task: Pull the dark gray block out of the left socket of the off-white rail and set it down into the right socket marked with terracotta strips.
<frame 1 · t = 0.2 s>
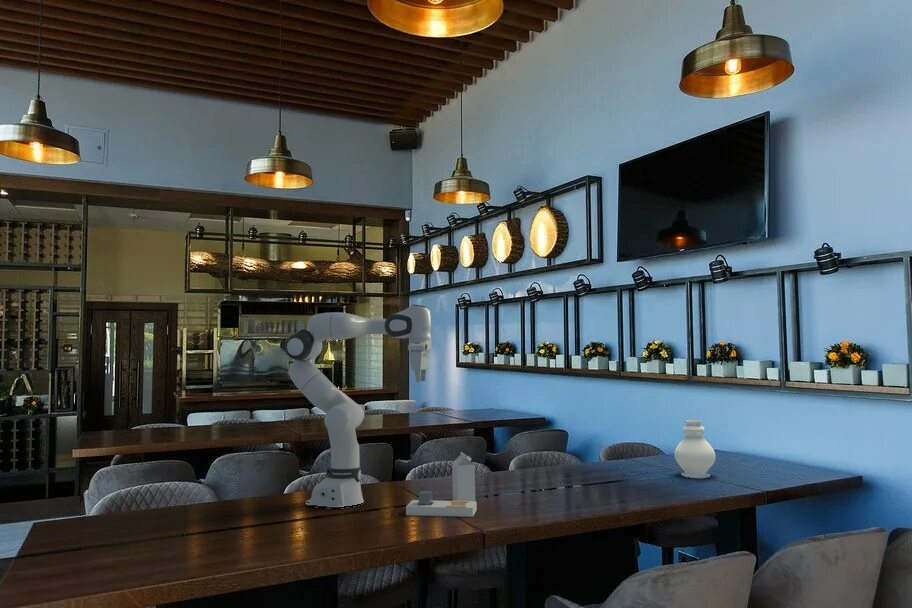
hand: (420, 381, 256), 47 cm above the table, tool pointing down, fingers open, 8 cm apart
dark gray block: (425, 511, 239), point 1 cm above the table, touching socket rail
decorative vase: (695, 476, 303), on the table
socket rail: (441, 515, 238), on the table
milk carton: (463, 503, 257), on the table
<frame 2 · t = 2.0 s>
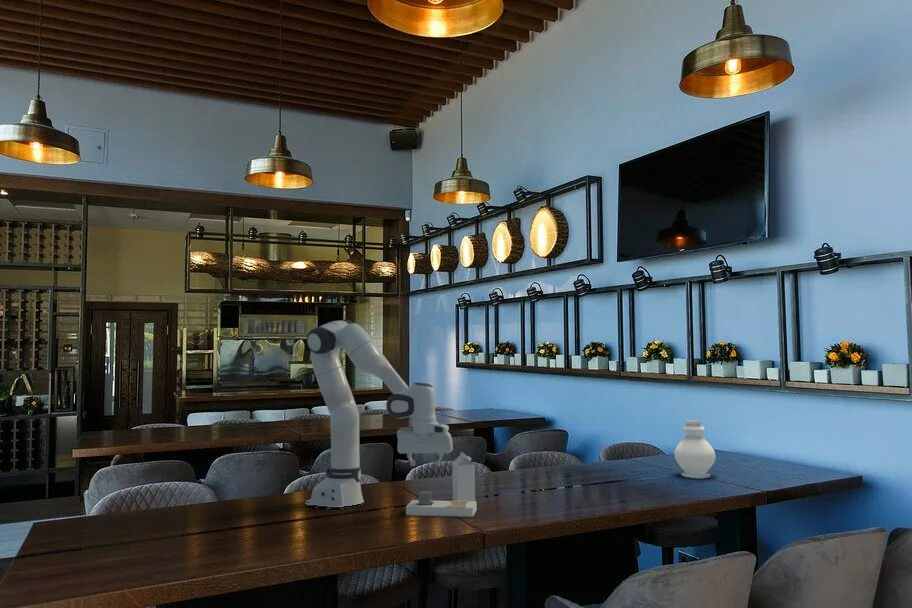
hand: (425, 465, 240), 18 cm above the table, tool pointing down, fingers open, 8 cm apart
nothing on the table moved.
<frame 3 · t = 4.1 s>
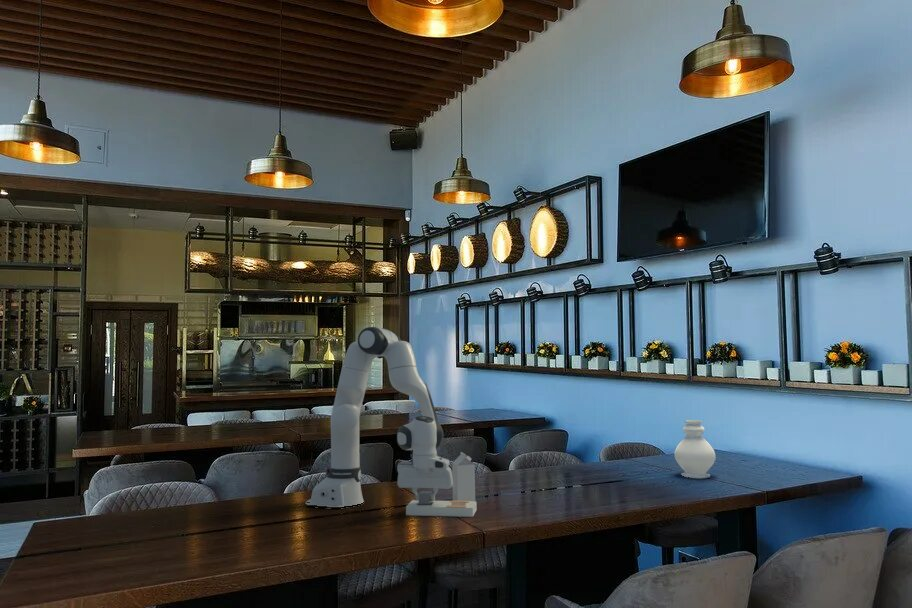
hand: (425, 500, 239), 5 cm above the table, tool pointing down, fingers closed on dark gray block, 4 cm apart
dark gray block: (425, 511, 239), point 1 cm above the table, touching gripper, socket rail
everything else where it was.
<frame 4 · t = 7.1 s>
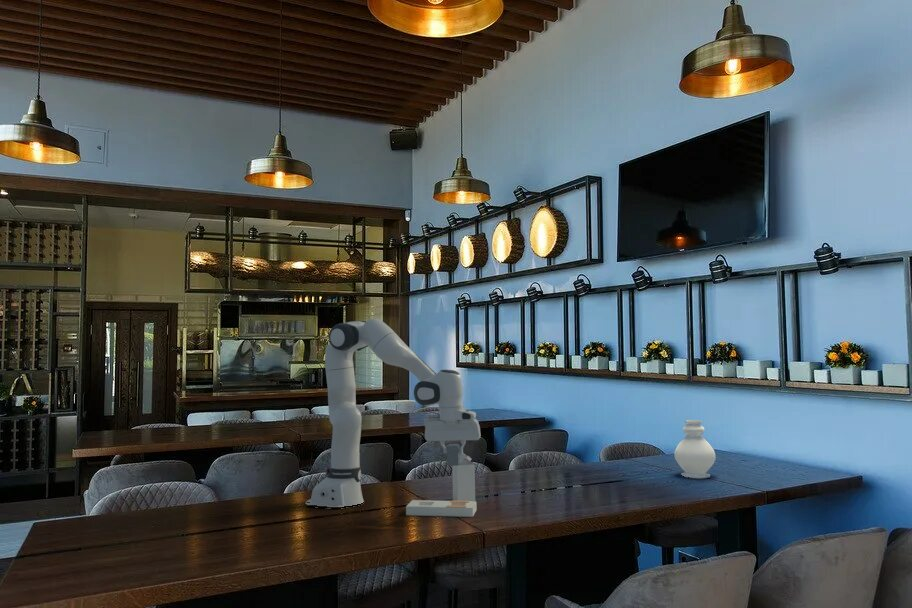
hand: (453, 453, 238), 22 cm above the table, tool pointing down, fingers closed on dark gray block, 4 cm apart
dark gray block: (453, 464, 238), point 18 cm above the table, touching gripper
everything else where it was.
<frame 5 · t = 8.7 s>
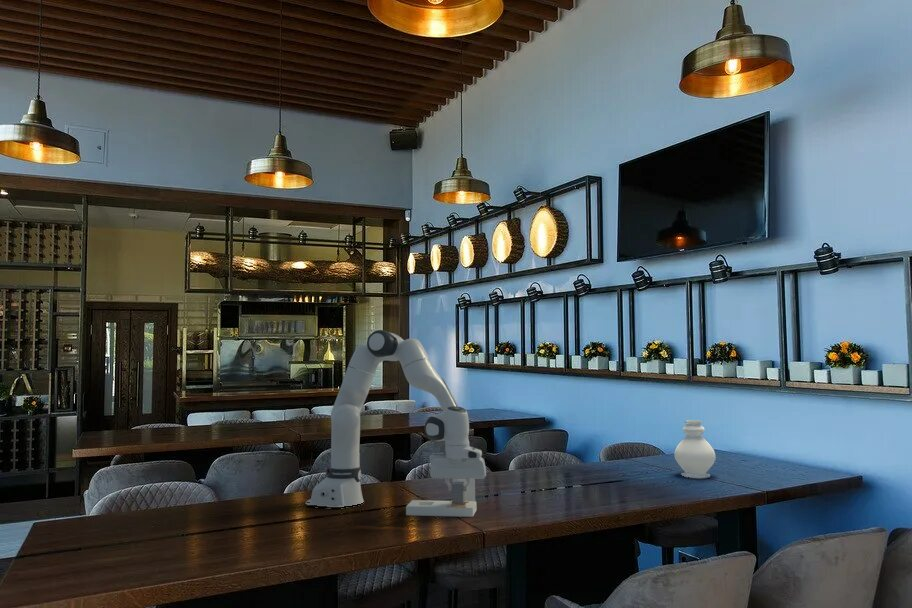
hand: (458, 490, 238), 9 cm above the table, tool pointing down, fingers closed on dark gray block, 4 cm apart
dark gray block: (458, 502, 238), point 5 cm above the table, touching gripper
everything else where it was.
when the fingers open (6 cm above the table, at t = 10.0 s): dark gray block stays where it is, resting on socket rail.
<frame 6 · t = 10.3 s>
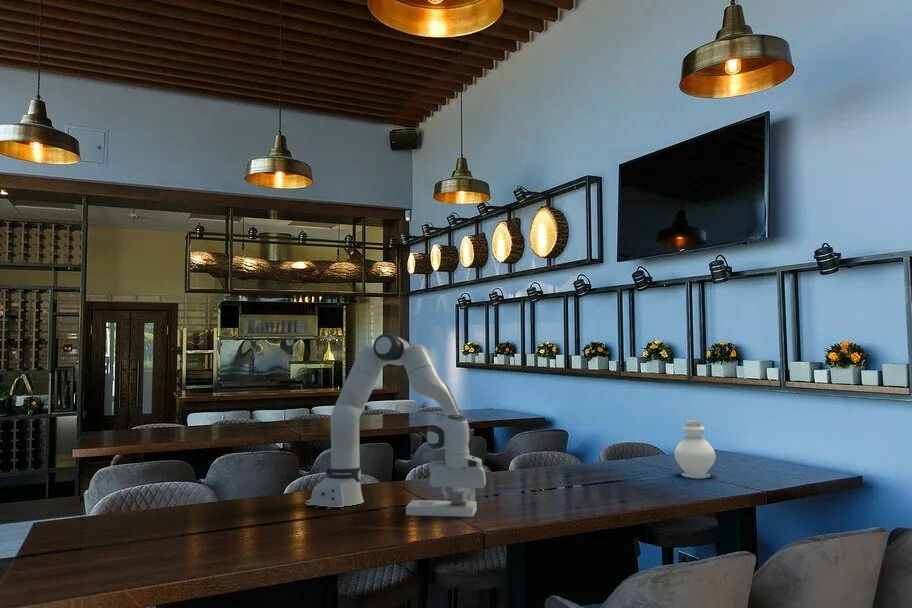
hand: (457, 499, 238), 6 cm above the table, tool pointing down, fingers open, 7 cm apart
dark gray block: (457, 512, 237), point 1 cm above the table, touching socket rail
everything else where it was.
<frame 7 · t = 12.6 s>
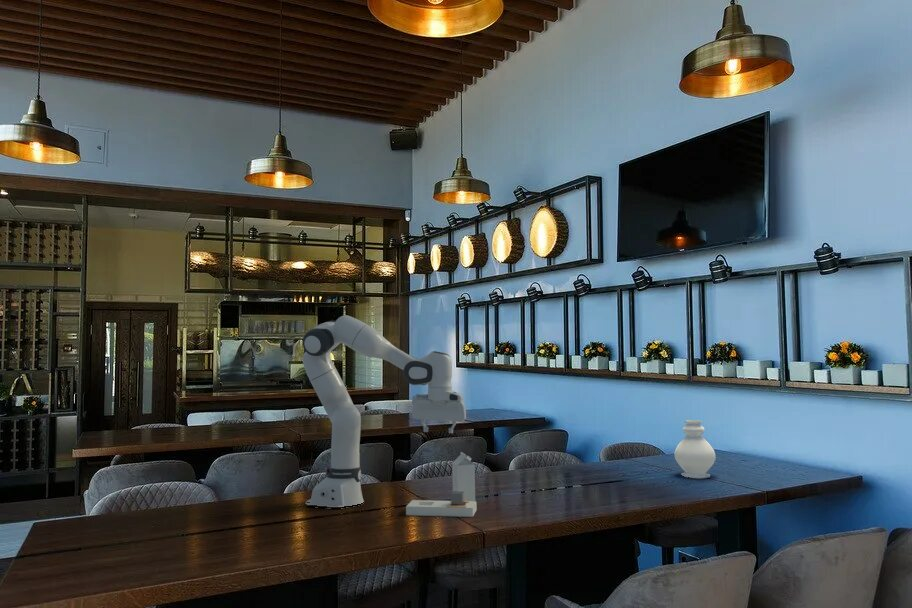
hand: (438, 432, 246), 29 cm above the table, tool pointing down, fingers open, 8 cm apart
nothing on the table moved.
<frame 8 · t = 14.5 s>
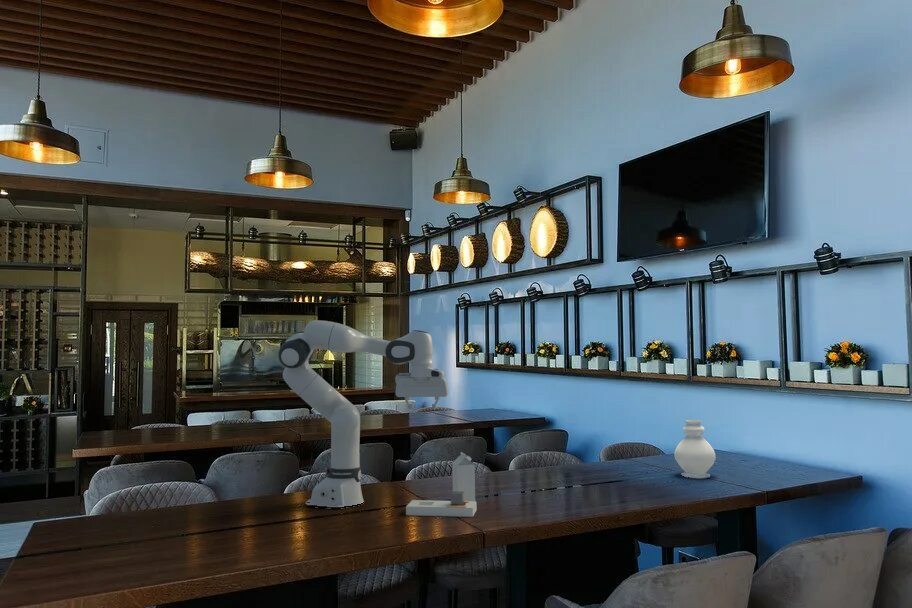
hand: (422, 408, 252), 37 cm above the table, tool pointing down, fingers open, 8 cm apart
nothing on the table moved.
at the end: dark gray block 0.1 cm from the target spot on the socket rail, point 1.1 cm above the socket rail's base; dark gray block tilted 0°; the gripper is holding nothing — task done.
